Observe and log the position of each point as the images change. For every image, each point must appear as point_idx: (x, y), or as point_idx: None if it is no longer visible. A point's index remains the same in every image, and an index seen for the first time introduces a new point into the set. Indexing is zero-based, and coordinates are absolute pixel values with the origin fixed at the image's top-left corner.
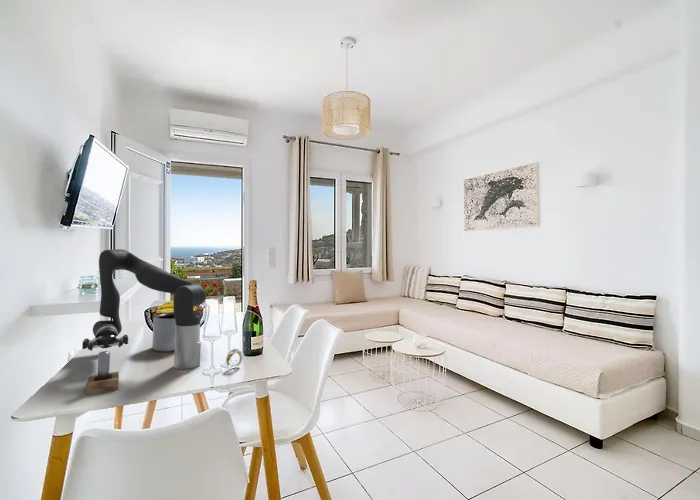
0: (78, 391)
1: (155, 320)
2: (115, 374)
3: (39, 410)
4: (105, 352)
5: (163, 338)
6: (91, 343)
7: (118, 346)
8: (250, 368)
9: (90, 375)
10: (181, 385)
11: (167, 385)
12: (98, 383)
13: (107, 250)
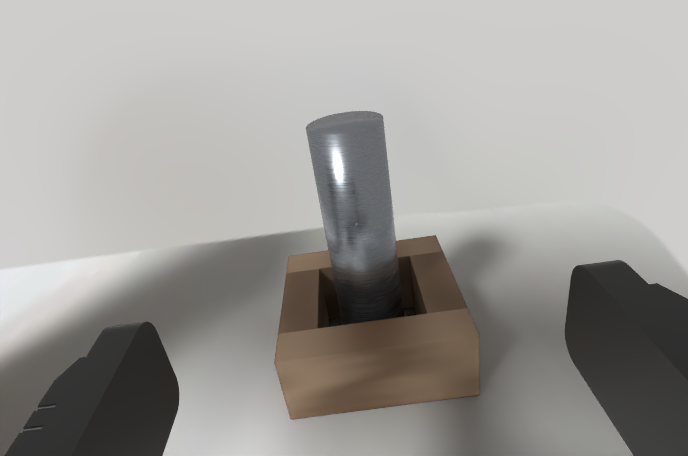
0: (500, 330)
1: None
2: (299, 314)
3: (564, 217)
4: (335, 123)
5: None
6: (663, 320)
7: (176, 379)
8: None
9: (464, 334)
10: (61, 288)
11: (101, 299)
12: None
13: None
